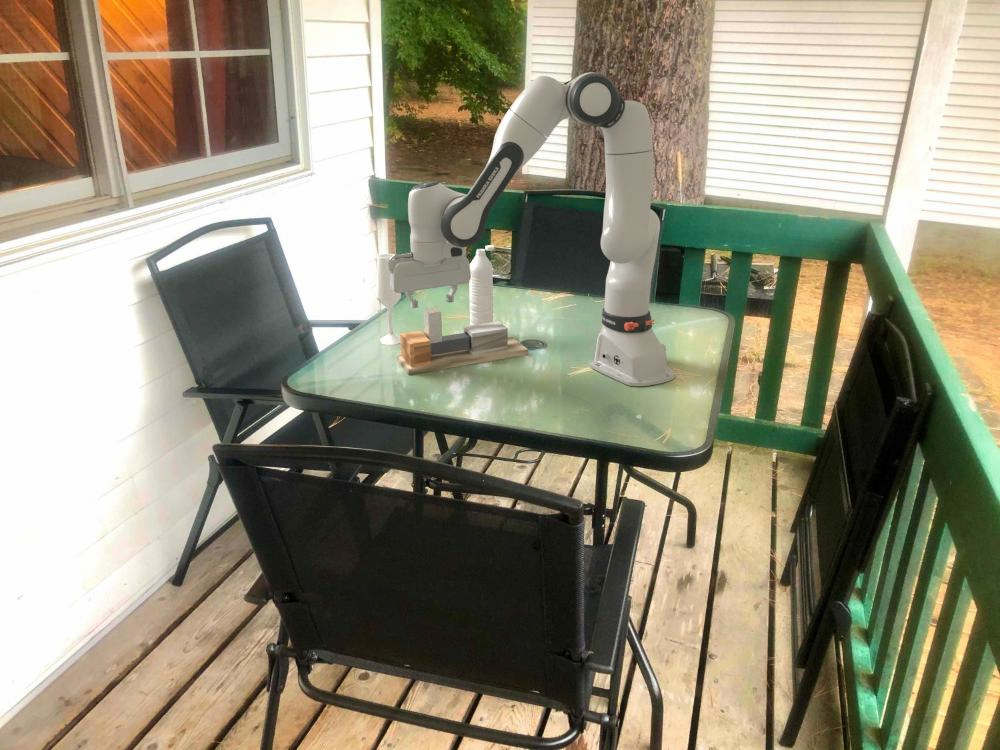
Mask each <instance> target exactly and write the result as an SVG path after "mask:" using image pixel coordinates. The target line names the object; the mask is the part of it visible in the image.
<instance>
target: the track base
mask: <svg viewBox="0 0 1000 750" xmlns="http://www.w3.org/2000/svg"><path fill="white" fill-rule="evenodd" d="M466 332H467V333H468V334H469V335H470V336H471V349H468V350H462V351H455V352H449V353H443V354H437V355H431V349H430V340H429V339H428V338H427V337H426V336H425V335H424V332H421V330H416V331H409V332H405V333H404V332H403V333H402V332H401V333H399V337H400V340H401V343H400V354H398V355H396V361H397V363H398V364H399V365H400V366H401V367H402V369H403V368H404V369H403V370H404V371H405V372H406V374H411V375H415V374H421V373H429V372H433V371H438V370H445V369H449V368H450V369H451V368H456V367H463V366H468V365H474V364H480V363H484V362H485V363H487V362H492V361H497V360H503V359H509V358H516V357H521V356H522V357H523V356H527V354H529V349H528V348H527V347H526V346H524V345H523V344H522V343H520V342H519V341H518V340H517V339H515V338H514V337H512V336H511V337H508V334H509V333H508V327H507V326H506V325H504V324H503V323H501V321H493V322H490V323H483V324H476V325H470V324H469V325H464V326H463V333H466Z"/></svg>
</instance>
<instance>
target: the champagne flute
mask: <svg viewBox="0 0 1000 750" xmlns="http://www.w3.org/2000/svg"><path fill="white" fill-rule="evenodd" d="M394 255H395V254H393V253H381V254H378V255H377V256H376V284H375V285H376V286H375V288H376V289H375V297H376V299H377V301H378V302H379V303H380V305H382V306H384V307H385V308H387V309H386V310H387V311H386V312H387V325H388V327H387V328H388V334H386V335H384V336H383V337H382V338H380V339H379V340H380V342H381V343H380V342H379V343H380V344H383V345H387V346H392V345H398V344H401V340H400V335H397V334H395V333H394V326H393V311H392V307H394V306H396V304H397V303H398V302H399V301H400V299H401V297H402V293H396V292H394V291H393V290H392V289H391V287H390V271H389V265H388V263H389V260H390V258H392V257H394ZM393 259H394V258H393Z"/></svg>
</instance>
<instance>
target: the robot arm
mask: <svg viewBox="0 0 1000 750" xmlns="http://www.w3.org/2000/svg"><path fill="white" fill-rule="evenodd" d="M565 119H572V120H575V121H576V122H578V123H580V124H582V125H588V126H589V125H590V126H593V127H594V126H595V127H599V128H600V129H601V131H602V134H603V139H604V162H605V164H604V165H605V168H604V169H605V196H604V197H605V198H604V207H603V219H602V220H603V221H602V232H601V237H600V248H601V251H602V254H603V255H604V256H605V257H606V259H608V261H610V262H609V267H608V271H607V275H606V278H605V291H604V306H603V309H602V311H601V312H602V313H601V324H602V327H601V328H600V331H599V333H598V335H597V339H596V345H595V353H594V360H592V361H591V362H590V368H591V369H593V370H595V371H597V372H599V373H601V374H603V375H605V376H607V377H610V378H611V379H614V380H616V381H617V382H620V383H622V384H624V385H627V386H629V387H646V386H647V387H648V386H653V385H659V384H663V383H667V382H670V381H673V380H674V379H675V378H676V377H677V375H676V372H675V371H674V370H673V369H672V368H671V367H670V366H668V365H667V360H668V358H667V353H666V349H667V348H666V345H665V344H663V343H661V342H660V340H659V339H658V337H657V335H656V334H655V332H654V331H653V330H654V329H652V328H653V325H654V324H655V323H654V321H655V319H652V315H651V311H650V297H651V287H652V286H651V285H652V278H653V274H654V268H655V267H654V266H655V262H656V258H657V250H658V246H659V245H658V243H659V238H660V231H661V220H660V218H659V216H658V214H657V213H656V212H655V211H654V210H653V209H652V208H651V205H652V204H651V203H652V196H653V189H654V184H655V182H654V181H655V180H654V149H653V148H654V146H653V145H654V144H653V133H652V132H653V131H652V125H651V120H650V115H649V111H648V109H647V107H646V106H645V105H644V104H643V103H641V102H639V101H636V100H630V99H629V100H628V99H627V100H624V98H623V96H622V95H621V93H620V91H619V89H618V88H617V86H616V84H615V83H614V82H613V80H611V79H610V78H609V77H608V76H606V75H604V74H602V73H599V72H594V71H593V72H592V71H589V72H585V73H582V74H580V75H578V76H576V77H573V78H572V79H571V80H568V81H567V82H564V83H561V82H559V81H558V80H557V79H555V78H554V77H551V76H548V75H540V76H538V77H536V78H534V79H533V80H532V81H531V82H530V83H529V84H528V85H527V86H526V87H525V88H524V89H523V90H522V92H520V94H519V95H518V96H517V98H516V99H515V100H514V101H513V103H512V104H511V105H510V106H509V109H508V110H507V112H505V114H504V116H503V118H502V119H501V121H500V123H499V126H498V127H497V129H496V132H495V134H494V137H493V143H492V149H491V153H490V156H489V159H488V161H487V163H486V165H485V167H484V169H483V170H482V171H481V174H480V175H479V177H478V178H477V179H476V180H475V182H474V183H473V185H472V187H471V188H470V190H469V191H468V193H467V194H466V193H462V192H458V191H455V190H453V189H452V188H449V187H447V186H445V185H444V184H442V183H441V182H440V181H436V180H433V181H431V180H430V181H426V182H425V181H424V182H422V183H419V184H416V185H414V186H413V187H412V188H411V190H410V191H409V193H408V198H407V199H408V201H407V214H408V223H409V226H410V234H409V240H410V241H409V242H410V246H409V247H410V252H406V253H405V252H404V253H401V254H400V253H396V254H394V257H392V258H390V260H389V263H388V265H389V271H390V287H391V289H392V290H393V291H394V292H396V293H401V294H403V293H404V294H405V296H406V297H407V298H408V301H409V304H410V305H409V306H410V308H411V309H417V308H419V305H418V304H419V302H418V301H419V300H417V299H415V298H413V297H412V296H413V295H414V292H415V291H416V292H417V291H422V290H430V289H437V288H443V287H449V288H450V290H449V292H448V293H447V294H445V301H446V303H448V304H449V303H454V302H455V300H454V299H455V298H454V297H455V294H456V293H457V291H458V286H459V285H464V284H469V282H470V279H471V271H470V261H469V259H468V257H467V256H466V255H467V248H469V247H472V246H474V245H476V244H477V243H479V242H480V240H481V239H482V238H483V236H484V234H485V231H486V227H487V220H488V217H489V214H490V212H491V210H492V208H493V207H494V206H495V204H496V203H497V201H498V199H499V198H500V197H501V195H502V194H503V193H504V191H505V189H506V188H507V187H508V185H509V184H510V182H511V181H512V179H513V178H514V177H515V176H516V175H517V173H519V171H520V170H521V169H522V168H523V167H524V166H525V165H526V164H527V163H528V162H529V161H530V160H531V159H532V158H533V157H534V156H535V155H537V153H538V152H539V150H540V149H541V148H542V147H543V146H544V144H545V143H546V141H547V140H548V139H549V137H550V136H551V134H552V133H553V131H554V129H556V127H557V126H558V125H559V124H560V123H561V122H562V121H564V120H565ZM393 258H394V259H393Z"/></svg>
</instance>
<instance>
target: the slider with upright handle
mask: <svg viewBox="0 0 1000 750" xmlns="http://www.w3.org/2000/svg"><path fill="white" fill-rule="evenodd" d="M422 313H423V315H422V318H423V334H424V335H425V336H426V337H427V338H428V339H429V340H430V349H431V355H437V354H443V353H449V352H455V351H462V350H468V349H471V336H470V335H469V334H468V333H467V332H466V333H464V332H462V333H461V332H460V333H456V334H455V333H454V334H453V333H452V334H448V335H443V328H442V327H443V325H442V311H441V310H440V309H439V308H438V307H436V306H434V307H428V308H427V307H426V308H422Z"/></svg>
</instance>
